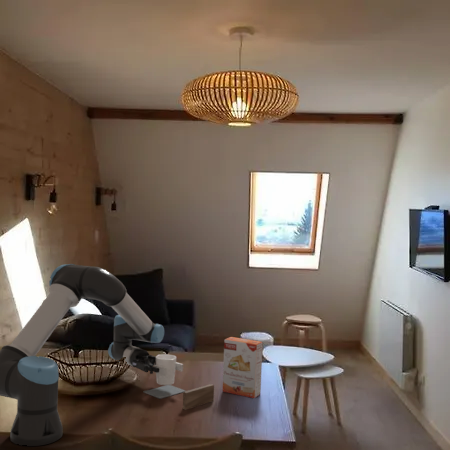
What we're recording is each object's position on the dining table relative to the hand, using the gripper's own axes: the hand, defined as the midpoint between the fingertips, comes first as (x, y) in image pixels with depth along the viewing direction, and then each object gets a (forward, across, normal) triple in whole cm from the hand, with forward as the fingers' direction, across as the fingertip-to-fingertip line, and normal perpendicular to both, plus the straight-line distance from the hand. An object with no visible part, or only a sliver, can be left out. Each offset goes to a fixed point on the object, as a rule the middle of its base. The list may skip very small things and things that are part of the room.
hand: (174, 369), depth 216 cm
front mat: (-5, 0, -10) cm, 11 cm away
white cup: (-5, 0, -6) cm, 8 cm away
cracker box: (+16, -21, -10) cm, 28 cm away
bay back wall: (+14, 0, -10) cm, 17 cm away
